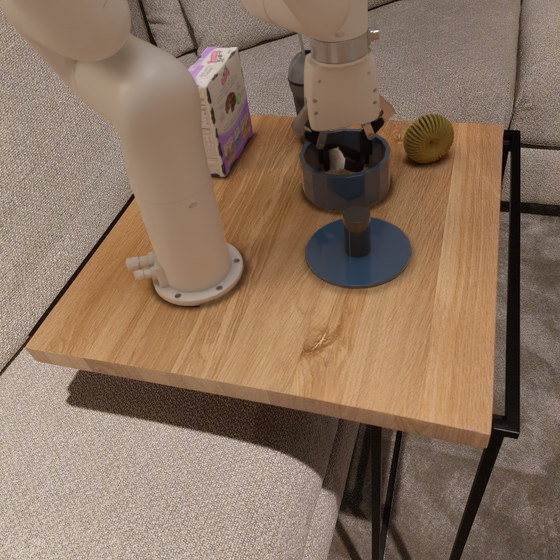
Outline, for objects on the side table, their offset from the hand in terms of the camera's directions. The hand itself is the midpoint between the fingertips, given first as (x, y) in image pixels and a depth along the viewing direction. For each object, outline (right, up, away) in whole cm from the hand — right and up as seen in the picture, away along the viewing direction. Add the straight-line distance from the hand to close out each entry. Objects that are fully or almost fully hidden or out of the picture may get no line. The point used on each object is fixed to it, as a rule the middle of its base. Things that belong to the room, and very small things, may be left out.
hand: (345, 161), depth 89 cm
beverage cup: (-4, +7, +15) cm, 17 cm away
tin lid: (+1, -14, -9) cm, 17 cm away
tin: (0, -3, +3) cm, 5 cm away
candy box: (-19, +4, +14) cm, 25 cm away
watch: (0, 0, 0) cm, 1 cm away
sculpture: (+14, +1, +6) cm, 15 cm away
